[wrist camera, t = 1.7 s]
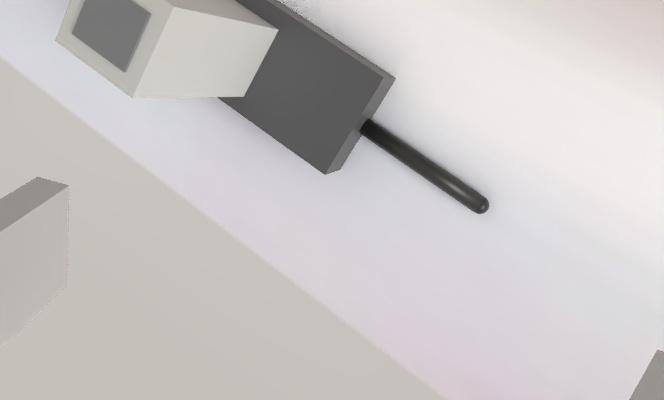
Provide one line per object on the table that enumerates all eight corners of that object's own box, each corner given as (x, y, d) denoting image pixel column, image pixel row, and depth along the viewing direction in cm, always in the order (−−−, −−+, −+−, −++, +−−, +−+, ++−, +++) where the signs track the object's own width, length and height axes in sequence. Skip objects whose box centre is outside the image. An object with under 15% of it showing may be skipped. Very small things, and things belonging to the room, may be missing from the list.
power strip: (62, -28, 42) (26, -37, 39) (97, -119, 40) (61, -135, 37) (456, 252, 36) (446, 266, 33) (522, 161, 33) (518, 168, 31)
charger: (200, 55, 39) (52, 40, 28) (231, -9, 37) (88, -52, 26) (259, 96, 38) (130, 98, 27) (293, 32, 36) (171, 6, 25)
